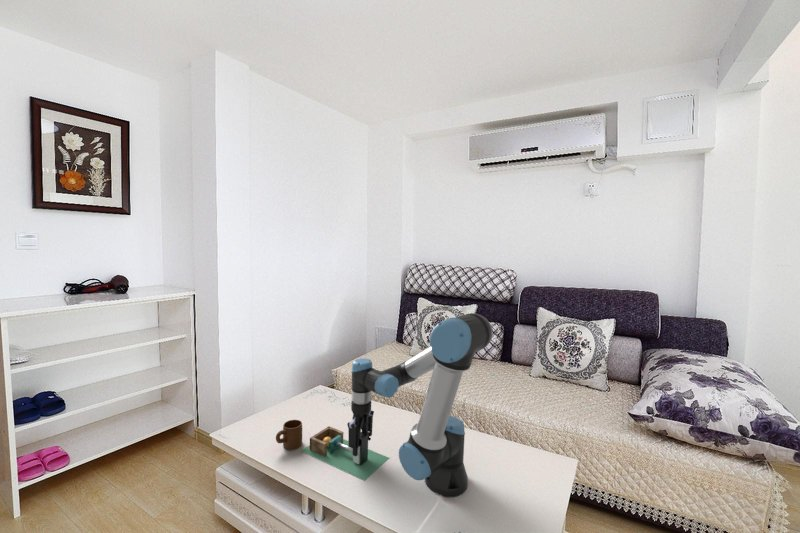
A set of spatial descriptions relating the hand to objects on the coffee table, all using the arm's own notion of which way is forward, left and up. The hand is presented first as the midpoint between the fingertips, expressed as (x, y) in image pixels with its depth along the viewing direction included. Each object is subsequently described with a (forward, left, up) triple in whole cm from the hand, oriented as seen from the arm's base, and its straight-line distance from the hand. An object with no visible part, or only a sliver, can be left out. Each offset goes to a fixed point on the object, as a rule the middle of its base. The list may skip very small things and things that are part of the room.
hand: (360, 459), depth 137 cm
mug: (+30, +9, -2) cm, 31 cm away
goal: (+17, 0, -1) cm, 17 cm away
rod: (+6, 0, -1) cm, 6 cm away
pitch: (+8, 0, -1) cm, 8 cm away
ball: (+17, 0, +1) cm, 17 cm away
